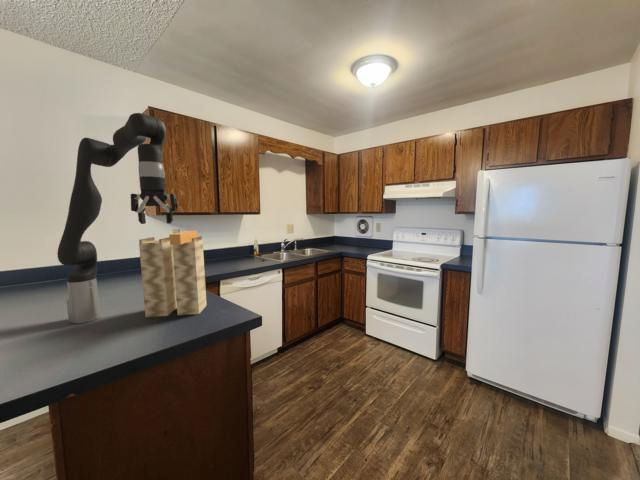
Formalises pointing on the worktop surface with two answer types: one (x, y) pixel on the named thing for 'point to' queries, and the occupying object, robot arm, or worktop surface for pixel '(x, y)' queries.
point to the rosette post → (158, 276)
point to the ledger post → (189, 277)
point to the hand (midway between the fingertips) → (156, 223)
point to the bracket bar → (182, 237)
